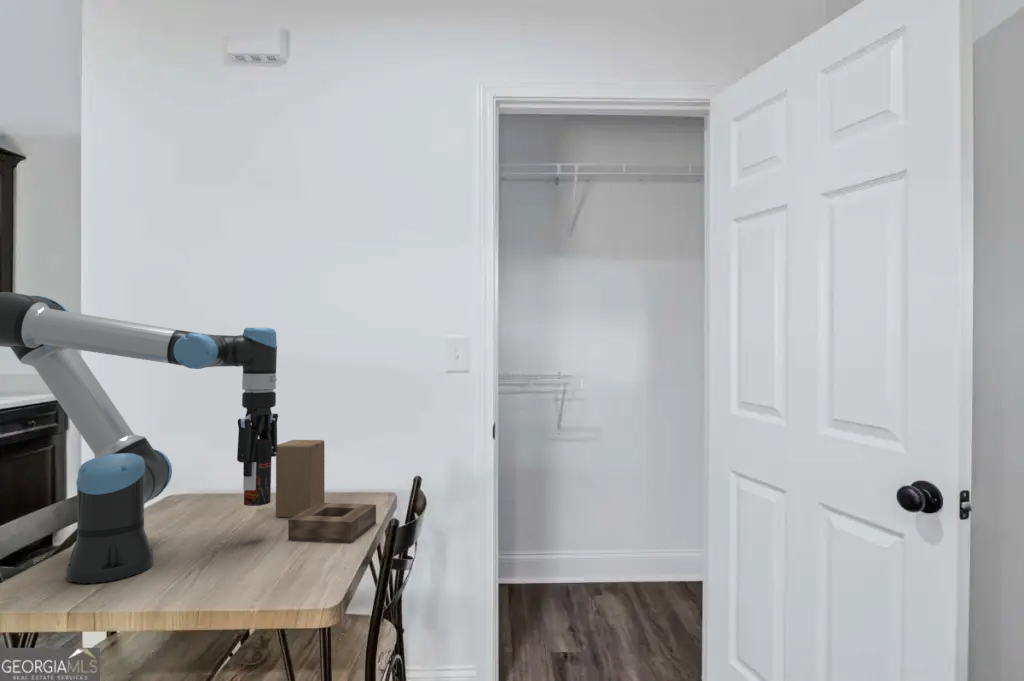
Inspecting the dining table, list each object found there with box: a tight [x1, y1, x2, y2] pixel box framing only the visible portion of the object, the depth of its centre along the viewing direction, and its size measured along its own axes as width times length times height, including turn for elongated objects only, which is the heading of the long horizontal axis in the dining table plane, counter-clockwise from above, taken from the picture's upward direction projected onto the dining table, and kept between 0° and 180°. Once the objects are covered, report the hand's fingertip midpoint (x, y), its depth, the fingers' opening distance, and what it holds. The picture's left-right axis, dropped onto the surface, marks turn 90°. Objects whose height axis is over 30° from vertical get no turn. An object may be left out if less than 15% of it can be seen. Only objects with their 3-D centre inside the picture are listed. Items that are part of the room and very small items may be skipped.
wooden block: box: [275, 439, 325, 519], centre depth 167 cm, size 10×10×20 cm
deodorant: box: [243, 438, 272, 507], centre depth 143 cm, size 6×6×15 cm
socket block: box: [287, 502, 377, 544], centre depth 149 cm, size 16×16×5 cm
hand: (257, 486), depth 143 cm, fingers closed on deodorant, 6 cm apart
